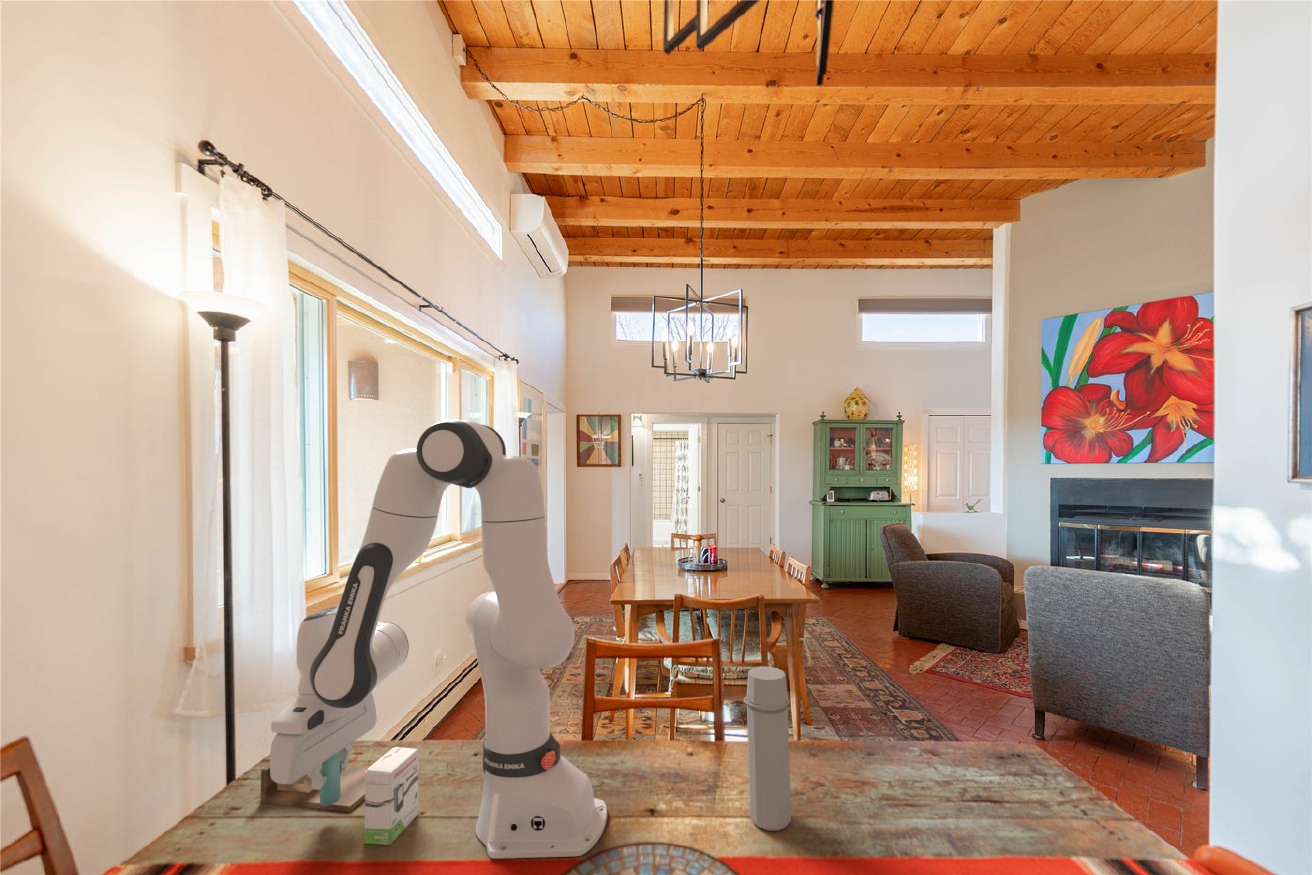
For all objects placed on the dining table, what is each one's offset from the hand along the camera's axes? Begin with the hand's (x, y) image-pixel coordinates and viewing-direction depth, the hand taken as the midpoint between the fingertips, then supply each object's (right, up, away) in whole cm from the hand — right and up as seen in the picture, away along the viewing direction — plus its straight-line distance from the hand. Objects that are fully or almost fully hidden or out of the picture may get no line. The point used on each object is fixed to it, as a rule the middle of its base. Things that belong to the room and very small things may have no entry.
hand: (330, 779), depth 99 cm
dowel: (0, -4, 0) cm, 4 cm away
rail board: (-6, -8, +10) cm, 14 cm away
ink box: (+12, -7, -3) cm, 15 cm away
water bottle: (+78, -6, -1) cm, 78 cm away
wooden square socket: (-11, -7, +11) cm, 16 cm away
